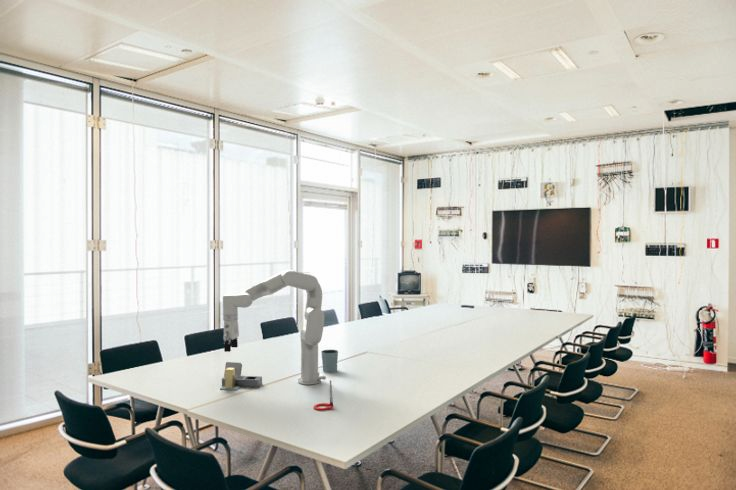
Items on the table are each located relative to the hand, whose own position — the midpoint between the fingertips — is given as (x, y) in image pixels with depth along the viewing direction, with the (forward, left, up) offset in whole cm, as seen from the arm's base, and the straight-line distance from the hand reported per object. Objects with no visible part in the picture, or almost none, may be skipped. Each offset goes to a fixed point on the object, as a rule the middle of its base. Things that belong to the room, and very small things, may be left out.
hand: (231, 349), depth 261 cm
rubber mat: (0, 0, -21) cm, 21 cm away
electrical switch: (+6, -19, -21) cm, 29 cm away
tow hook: (-55, +24, -21) cm, 63 cm away
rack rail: (-4, -7, -21) cm, 22 cm away
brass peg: (0, 0, -20) cm, 20 cm away
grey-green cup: (-46, -41, -21) cm, 65 cm away
